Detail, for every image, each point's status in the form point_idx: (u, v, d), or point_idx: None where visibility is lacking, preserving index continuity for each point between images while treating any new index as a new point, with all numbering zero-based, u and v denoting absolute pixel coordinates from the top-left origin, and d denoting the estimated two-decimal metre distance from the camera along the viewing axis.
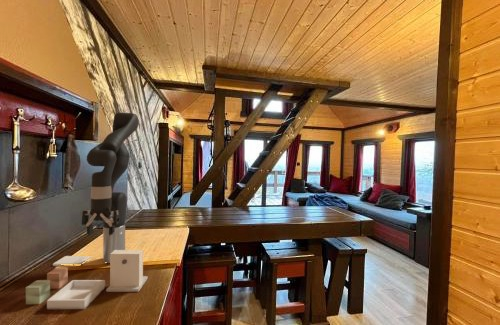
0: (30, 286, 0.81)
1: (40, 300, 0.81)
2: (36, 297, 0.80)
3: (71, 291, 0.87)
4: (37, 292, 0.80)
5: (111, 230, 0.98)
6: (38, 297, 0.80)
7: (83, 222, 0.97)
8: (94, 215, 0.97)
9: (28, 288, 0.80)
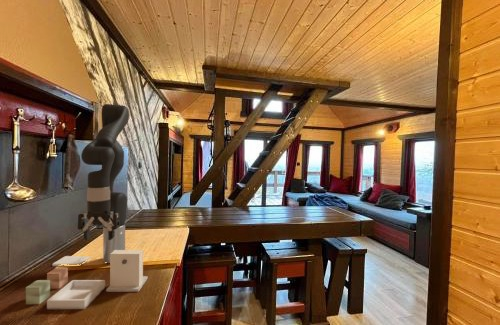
0: (30, 286, 0.81)
1: (40, 300, 0.81)
2: (36, 297, 0.80)
3: (71, 291, 0.87)
4: (37, 292, 0.80)
5: (111, 235, 0.90)
6: (38, 297, 0.80)
7: (79, 226, 0.88)
8: (91, 219, 0.88)
9: (28, 288, 0.80)
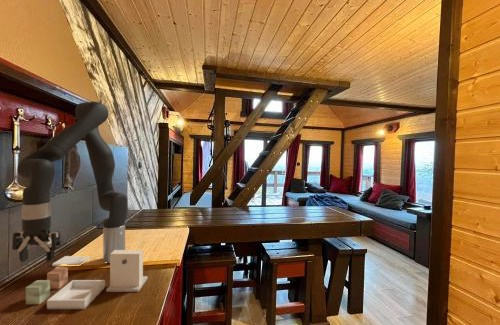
0: (30, 286, 0.81)
1: (40, 300, 0.81)
2: (36, 297, 0.80)
3: (71, 291, 0.87)
4: (37, 292, 0.80)
5: (49, 256, 0.81)
6: (38, 297, 0.80)
7: (14, 247, 0.80)
8: (27, 238, 0.79)
9: (28, 288, 0.80)
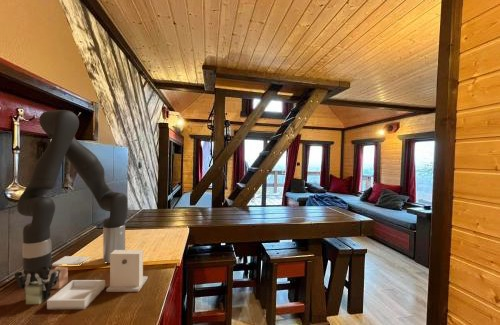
0: (30, 286, 0.81)
1: (39, 300, 0.81)
2: (36, 297, 0.80)
3: (71, 291, 0.87)
4: (37, 292, 0.80)
5: (45, 294, 0.82)
6: (38, 297, 0.80)
7: (21, 286, 0.81)
8: (28, 276, 0.80)
9: (28, 288, 0.80)
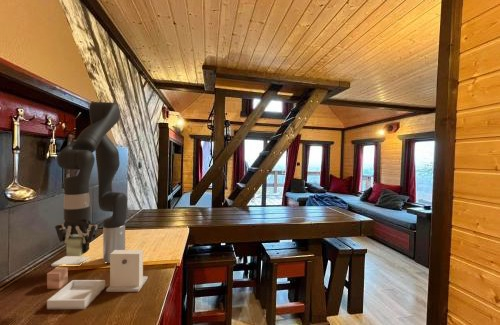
0: (70, 238, 0.81)
1: (80, 252, 0.81)
2: (76, 249, 0.81)
3: (71, 291, 0.87)
4: (77, 244, 0.81)
5: (85, 247, 0.83)
6: (78, 249, 0.81)
7: (61, 238, 0.82)
8: (69, 228, 0.81)
9: (69, 240, 0.81)
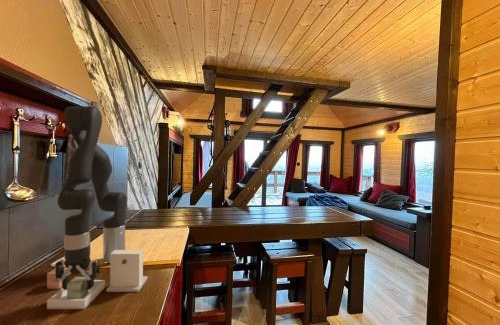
0: (71, 282, 0.82)
1: (80, 296, 0.82)
2: (76, 293, 0.82)
3: None
4: (78, 288, 0.82)
5: (89, 284, 0.84)
6: (79, 293, 0.82)
7: (57, 276, 0.82)
8: (69, 267, 0.82)
9: (69, 284, 0.82)
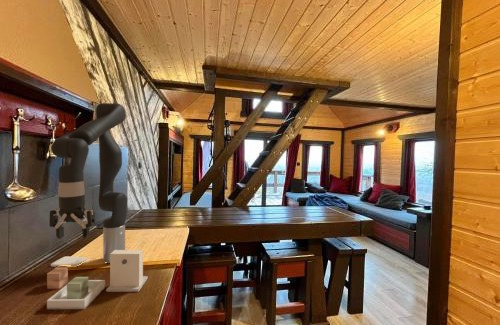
0: (71, 282, 0.82)
1: (80, 296, 0.82)
2: (76, 293, 0.82)
3: None
4: (78, 288, 0.82)
5: (85, 233, 0.84)
6: (79, 293, 0.82)
7: (51, 224, 0.82)
8: (64, 216, 0.82)
9: (69, 284, 0.82)
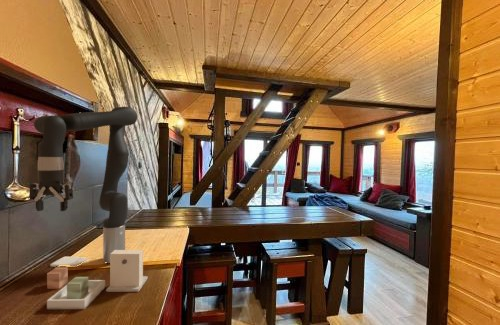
0: (71, 282, 0.82)
1: (80, 296, 0.82)
2: (76, 293, 0.82)
3: None
4: (78, 288, 0.82)
5: (63, 206, 0.88)
6: (79, 293, 0.82)
7: (31, 197, 0.87)
8: (42, 189, 0.86)
9: (69, 284, 0.82)
